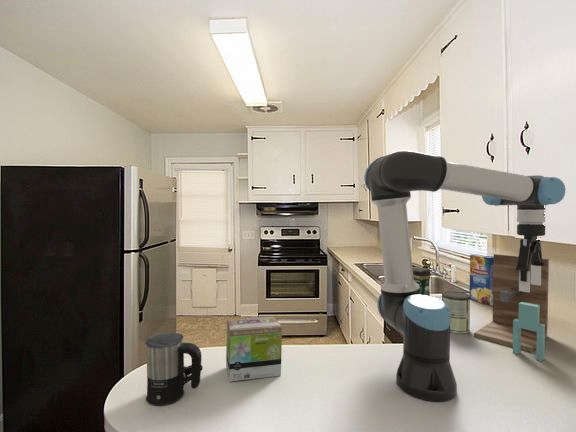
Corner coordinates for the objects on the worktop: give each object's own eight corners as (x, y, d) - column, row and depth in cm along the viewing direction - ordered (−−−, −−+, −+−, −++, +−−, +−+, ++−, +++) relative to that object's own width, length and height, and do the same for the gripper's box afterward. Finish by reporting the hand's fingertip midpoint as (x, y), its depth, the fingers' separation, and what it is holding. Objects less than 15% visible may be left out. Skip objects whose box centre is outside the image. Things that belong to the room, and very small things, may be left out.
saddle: (542, 361, 105) (543, 308, 105) (512, 353, 111) (513, 302, 111) (544, 358, 107) (545, 306, 107) (515, 350, 113) (516, 301, 113)
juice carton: (500, 304, 169) (501, 257, 168) (489, 305, 166) (490, 257, 166) (479, 298, 180) (480, 254, 180) (469, 299, 178) (469, 254, 177)
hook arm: (507, 302, 119) (507, 292, 118) (499, 301, 120) (500, 291, 120) (522, 294, 130) (522, 285, 130) (514, 293, 132) (515, 284, 132)
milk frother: (142, 409, 79) (142, 348, 79) (150, 377, 94) (150, 325, 94) (204, 400, 83) (204, 341, 83) (202, 370, 98) (202, 321, 98)
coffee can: (437, 324, 139) (438, 290, 139) (463, 325, 138) (463, 291, 138) (446, 333, 129) (447, 297, 128) (474, 334, 128) (475, 298, 127)
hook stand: (531, 352, 112) (533, 265, 111) (473, 336, 125) (475, 258, 125) (547, 336, 126) (548, 258, 125) (494, 323, 140) (495, 253, 139)
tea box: (229, 383, 91) (229, 330, 90) (225, 367, 100) (225, 318, 100) (282, 376, 95) (282, 325, 94) (274, 361, 104) (274, 314, 104)
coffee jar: (406, 302, 171) (406, 266, 170) (416, 300, 175) (416, 265, 175) (423, 307, 162) (423, 269, 162) (432, 305, 167) (433, 268, 166)
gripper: (534, 225, 97) (534, 297, 98) (554, 222, 113) (553, 284, 114) (505, 224, 103) (504, 292, 103) (527, 221, 119) (527, 280, 120)
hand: (530, 288), depth 109 cm, fingers open, 13 cm apart
